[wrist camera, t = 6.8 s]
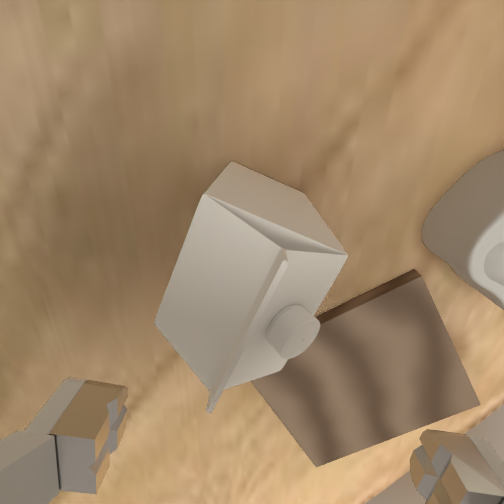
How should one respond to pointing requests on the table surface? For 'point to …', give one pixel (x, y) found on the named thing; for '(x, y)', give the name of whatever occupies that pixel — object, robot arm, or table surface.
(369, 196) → the table surface
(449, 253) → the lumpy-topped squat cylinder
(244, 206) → the milk carton
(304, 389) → the walnut board
